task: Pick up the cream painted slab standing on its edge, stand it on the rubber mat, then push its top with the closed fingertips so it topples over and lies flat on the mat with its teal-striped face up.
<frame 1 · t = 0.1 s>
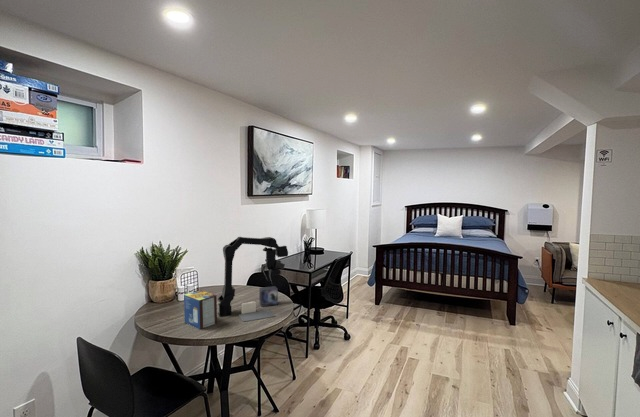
hand: (271, 283, 206), 15 cm above the table, fingers open, 9 cm apart
cream slab: (248, 312, 197), on the table
rubber mat: (256, 315, 192), on the table
protein box: (200, 323, 181), on the table
small box: (268, 304, 212), on the table
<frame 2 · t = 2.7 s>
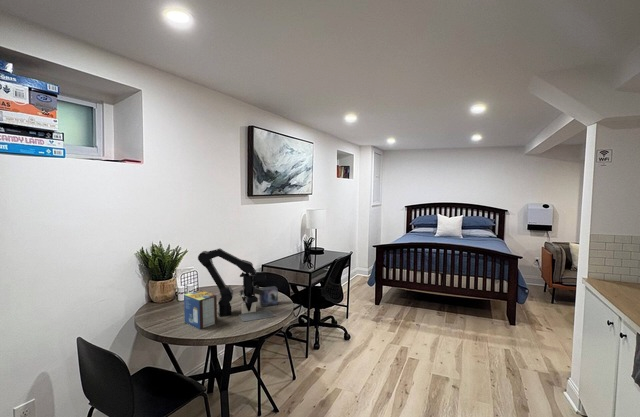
hand: (248, 310, 197), 1 cm above the table, fingers closed on cream slab, 2 cm apart
cream slab: (248, 312, 197), on the table, touching gripper
everything else where it was.
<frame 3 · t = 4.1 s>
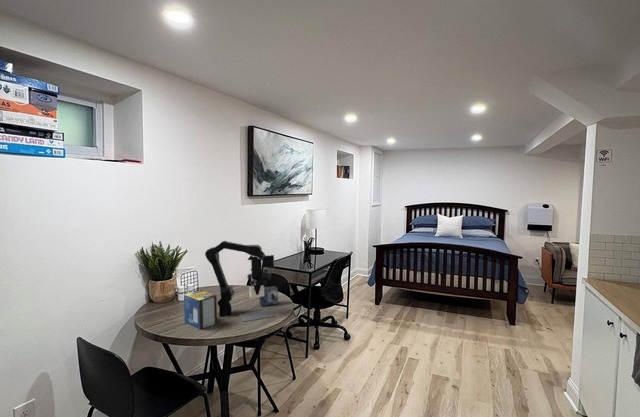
hand: (256, 294, 195), 11 cm above the table, fingers closed on cream slab
cream slab: (257, 296, 195), point 10 cm above the table, touching gripper
everything else where it was.
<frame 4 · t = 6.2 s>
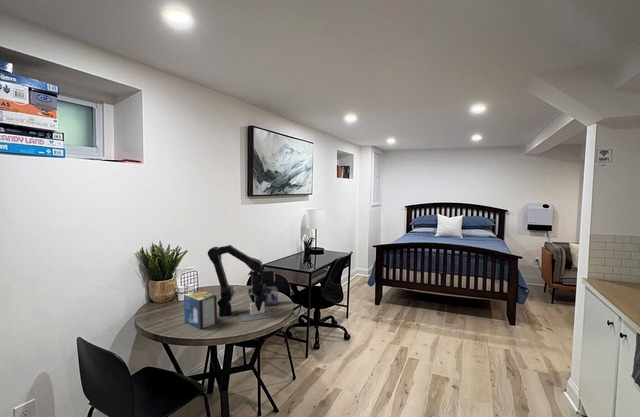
hand: (257, 309, 195), 3 cm above the table, fingers open, 7 cm apart
cream slab: (257, 313, 195), resting on rubber mat
everything else where it was.
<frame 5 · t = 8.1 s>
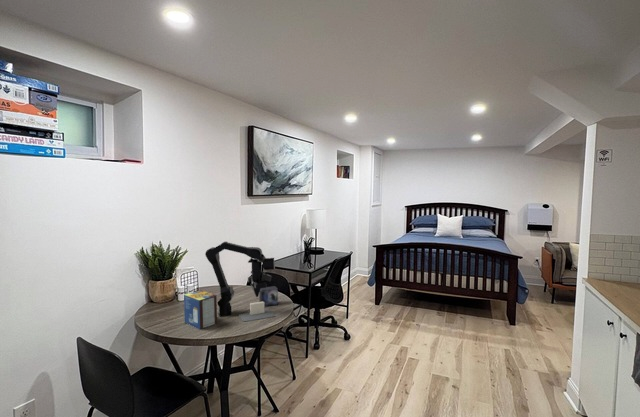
hand: (257, 296, 195), 10 cm above the table, fingers closed
nothing on the table moved.
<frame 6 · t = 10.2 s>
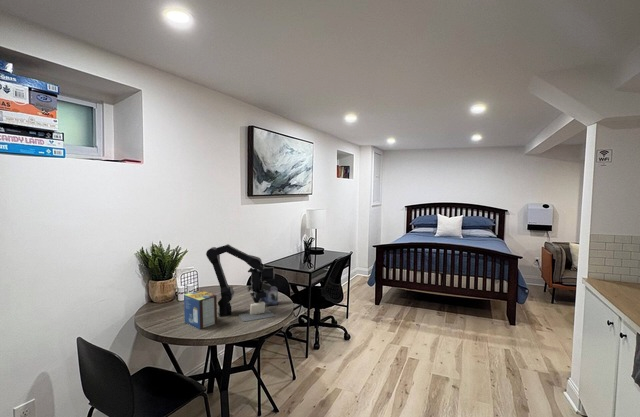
hand: (256, 306, 196), 4 cm above the table, fingers closed
cream slab: (257, 312, 195), point 1 cm above the table, tilted 16°, touching rubber mat
everything else where it was.
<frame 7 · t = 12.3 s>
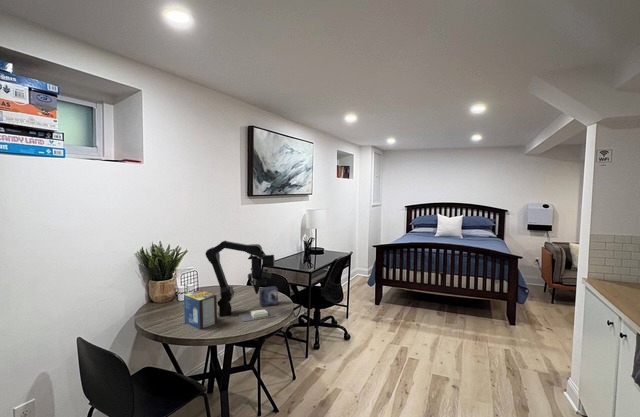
hand: (256, 293, 194), 12 cm above the table, fingers closed
cream slab: (257, 311, 194), point 1 cm above the table, tilted 90°, touching rubber mat
everything else where it was.
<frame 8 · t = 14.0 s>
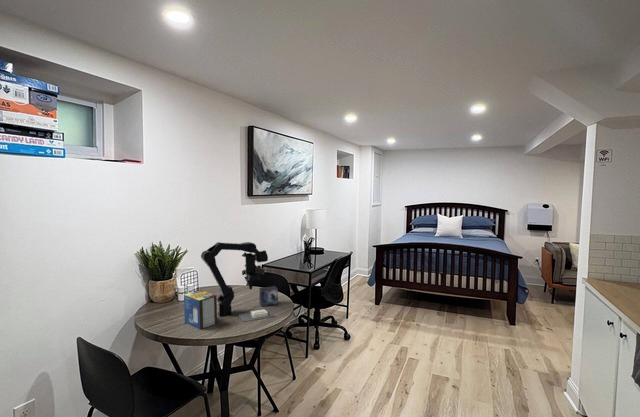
hand: (250, 289, 203), 12 cm above the table, fingers closed
nothing on the table moved.
at the end: cream slab tilted 90°; cream slab inside the target area on the rubber mat (2.2 cm from its centre), point 1.4 cm above the rubber mat's base; the gripper is holding nothing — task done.
